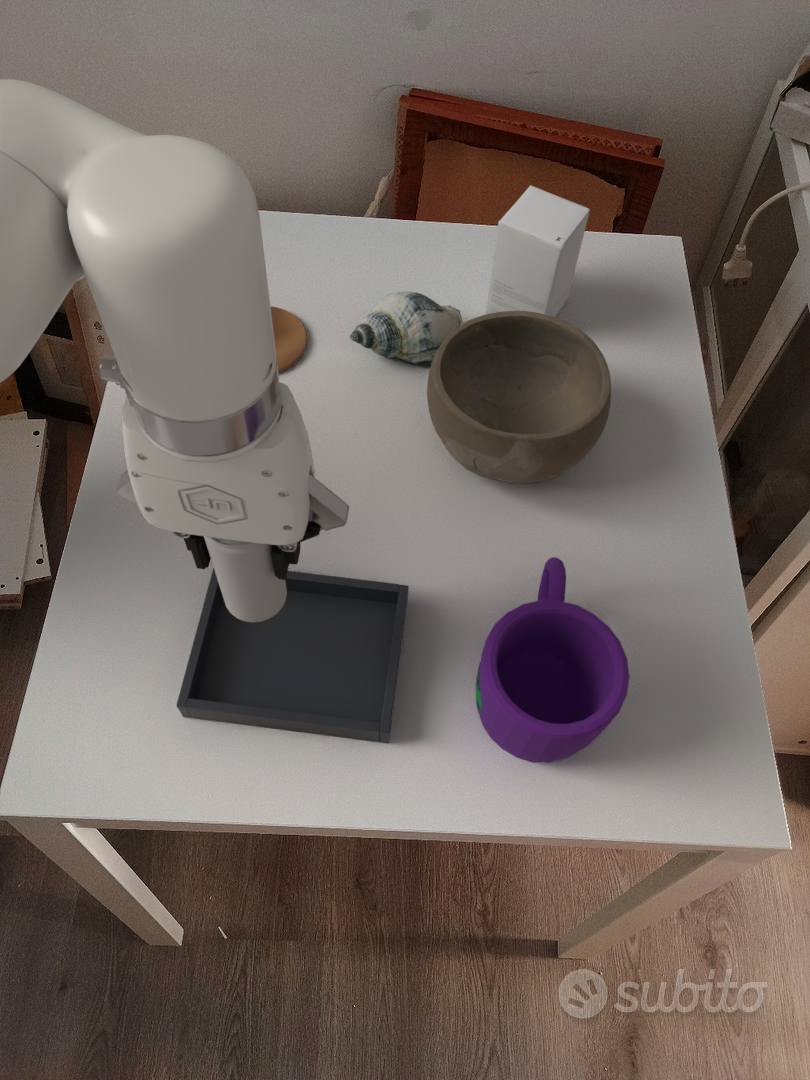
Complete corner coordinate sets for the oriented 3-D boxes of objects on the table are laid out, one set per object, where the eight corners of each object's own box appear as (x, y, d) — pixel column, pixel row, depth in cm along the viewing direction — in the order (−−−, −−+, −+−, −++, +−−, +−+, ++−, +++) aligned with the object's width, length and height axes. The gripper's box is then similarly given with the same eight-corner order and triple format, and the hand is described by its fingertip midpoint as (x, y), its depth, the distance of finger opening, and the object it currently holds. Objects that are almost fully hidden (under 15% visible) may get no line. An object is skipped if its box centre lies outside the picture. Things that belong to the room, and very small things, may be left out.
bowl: (452, 354, 92) (460, 285, 83) (609, 399, 89) (634, 332, 80) (400, 475, 83) (403, 412, 75) (571, 528, 81) (595, 469, 72)
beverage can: (230, 631, 62) (205, 555, 52) (220, 576, 65) (194, 493, 54) (293, 617, 63) (281, 540, 53) (281, 563, 66) (266, 479, 55)
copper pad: (206, 371, 89) (205, 367, 89) (227, 305, 94) (226, 301, 94) (297, 381, 89) (297, 377, 88) (314, 314, 94) (313, 310, 93)
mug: (598, 782, 68) (631, 748, 60) (462, 762, 69) (475, 725, 60) (602, 596, 77) (631, 543, 69) (481, 579, 78) (495, 524, 69)
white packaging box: (569, 300, 96) (593, 208, 85) (539, 339, 93) (561, 249, 82) (513, 275, 98) (530, 182, 87) (482, 313, 95) (497, 221, 84)
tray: (183, 717, 70) (175, 705, 68) (220, 576, 77) (214, 561, 74) (388, 743, 70) (389, 733, 67) (407, 599, 76) (408, 585, 74)
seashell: (458, 373, 92) (350, 366, 92) (462, 309, 93) (355, 301, 93) (463, 356, 86) (348, 347, 86) (467, 286, 87) (353, 278, 86)
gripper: (17, 423, 41) (111, 587, 57) (359, 467, 40) (358, 620, 56) (66, 313, 44) (142, 496, 60) (379, 353, 44) (373, 526, 60)
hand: (246, 554), depth 58 cm, fingers closed on beverage can, 4 cm apart
